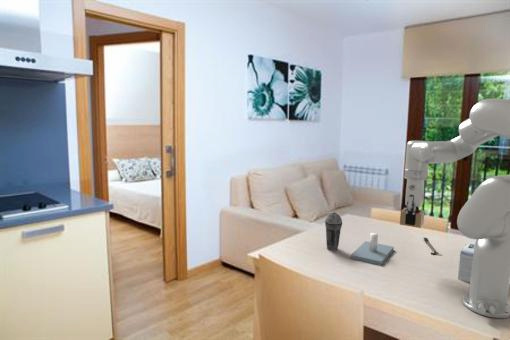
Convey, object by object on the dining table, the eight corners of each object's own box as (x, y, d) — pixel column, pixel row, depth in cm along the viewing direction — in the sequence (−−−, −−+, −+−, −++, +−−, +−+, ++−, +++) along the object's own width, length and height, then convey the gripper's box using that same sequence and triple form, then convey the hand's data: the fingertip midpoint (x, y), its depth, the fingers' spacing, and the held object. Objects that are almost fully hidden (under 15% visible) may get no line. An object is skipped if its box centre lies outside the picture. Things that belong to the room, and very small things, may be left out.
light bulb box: (462, 270, 135) (465, 242, 133) (484, 275, 131) (487, 246, 129) (457, 279, 127) (460, 249, 125) (479, 285, 122) (482, 254, 121)
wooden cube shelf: (420, 227, 129) (421, 214, 128) (399, 224, 133) (400, 211, 132) (423, 223, 135) (424, 210, 134) (403, 220, 139) (404, 207, 138)
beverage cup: (321, 249, 153) (323, 203, 150) (326, 244, 159) (328, 200, 157) (338, 253, 150) (340, 205, 147) (342, 247, 156) (345, 202, 153)
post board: (381, 265, 138) (382, 243, 136) (350, 258, 144) (351, 237, 143) (393, 250, 154) (394, 230, 153) (365, 244, 161) (366, 225, 160)
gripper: (423, 178, 122) (418, 229, 125) (430, 173, 137) (426, 218, 139) (399, 176, 126) (396, 226, 129) (409, 171, 141) (405, 215, 143)
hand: (411, 221), depth 134 cm, fingers closed on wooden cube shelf, 7 cm apart
